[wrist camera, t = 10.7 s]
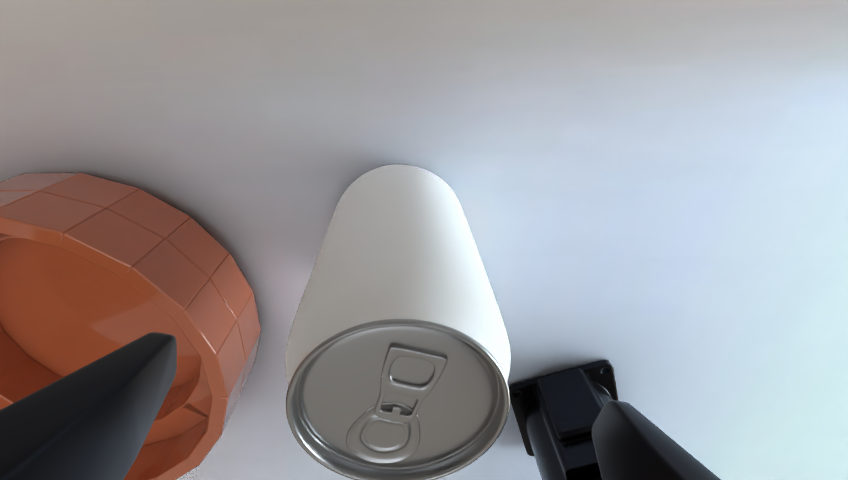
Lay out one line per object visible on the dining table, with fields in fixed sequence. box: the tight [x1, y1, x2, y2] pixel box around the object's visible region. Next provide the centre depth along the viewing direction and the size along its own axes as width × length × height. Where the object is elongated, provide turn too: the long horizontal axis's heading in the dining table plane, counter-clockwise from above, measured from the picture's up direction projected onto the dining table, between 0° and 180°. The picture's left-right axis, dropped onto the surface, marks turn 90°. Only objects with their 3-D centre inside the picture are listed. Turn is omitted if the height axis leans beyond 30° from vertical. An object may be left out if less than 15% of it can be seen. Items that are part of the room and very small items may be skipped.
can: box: [285, 164, 511, 480], centre depth 16 cm, size 6×6×12 cm
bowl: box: [0, 173, 261, 480], centre depth 20 cm, size 15×15×6 cm
